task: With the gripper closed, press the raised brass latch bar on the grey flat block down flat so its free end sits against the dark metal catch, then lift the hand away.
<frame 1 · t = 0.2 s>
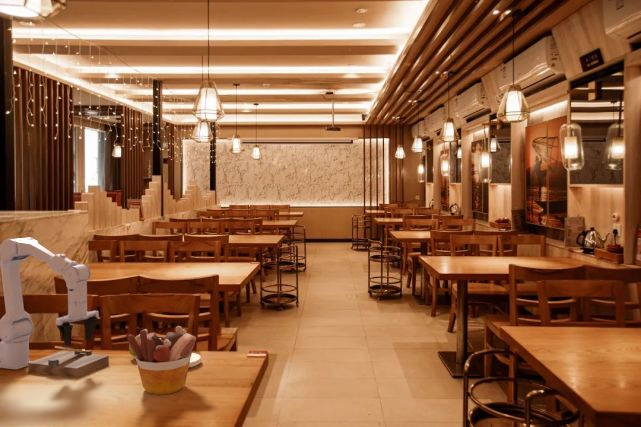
hand: (78, 342, 184), 10 cm above the table, tool pointing down, fingers open, 7 cm apart
lemon: (137, 358, 200), on the table
plastic lid: (180, 366, 192), on the table
latch bar: (71, 349, 190), point 6 cm above the table, hinge at 22.0°
bucket of meat: (163, 390, 167), on the table
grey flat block: (69, 367, 189), on the table
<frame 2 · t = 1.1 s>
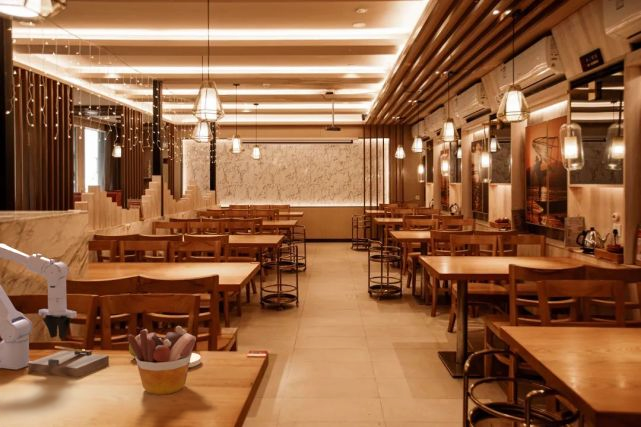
hand: (58, 337, 191), 10 cm above the table, tool pointing down, fingers open, 3 cm apart
nothing on the table moved.
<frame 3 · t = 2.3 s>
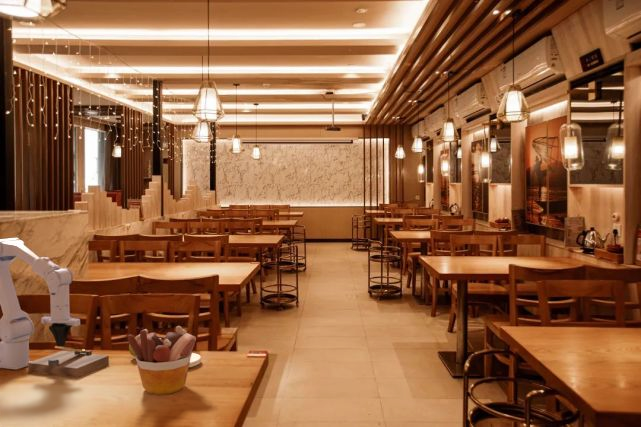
hand: (61, 346, 185), 8 cm above the table, tool pointing down, fingers closed, pressing on latch bar
latch bar: (71, 349, 190), point 6 cm above the table, hinge at 22.0°, touching gripper
everything else where it was.
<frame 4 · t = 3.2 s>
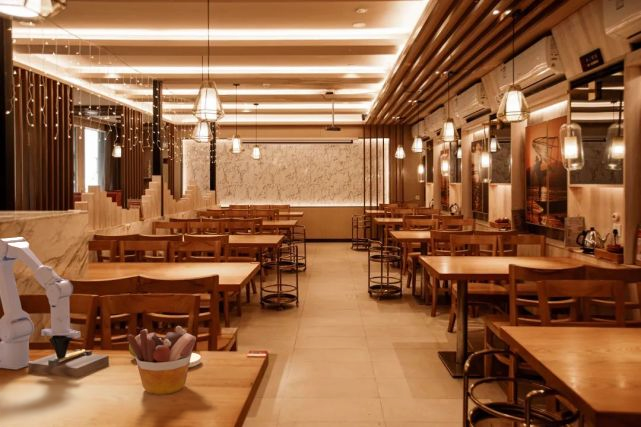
hand: (61, 358, 185), 4 cm above the table, tool pointing down, fingers closed, pressing on latch bar
latch bar: (70, 355, 189), point 4 cm above the table, hinge at 2.9°, touching gripper
everything else where it was.
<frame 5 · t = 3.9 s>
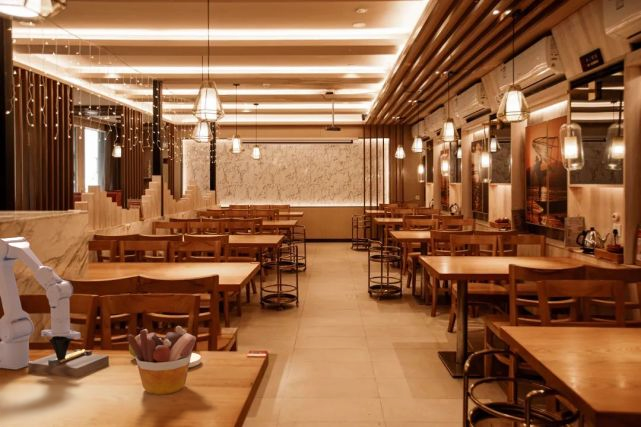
hand: (61, 359, 185), 4 cm above the table, tool pointing down, fingers closed, pressing on latch bar
latch bar: (70, 356, 189), point 4 cm above the table, hinge at 0.3°, touching gripper
everything else where it was.
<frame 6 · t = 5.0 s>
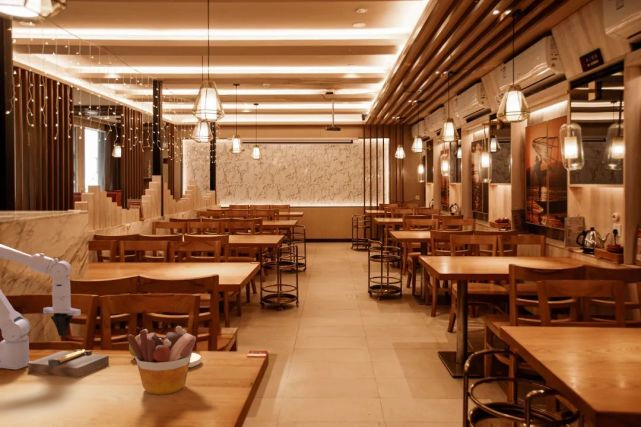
hand: (62, 335, 194), 10 cm above the table, tool pointing down, fingers closed
latch bar: (70, 356, 189), point 4 cm above the table, hinge at 0.3°
everything else where it was.
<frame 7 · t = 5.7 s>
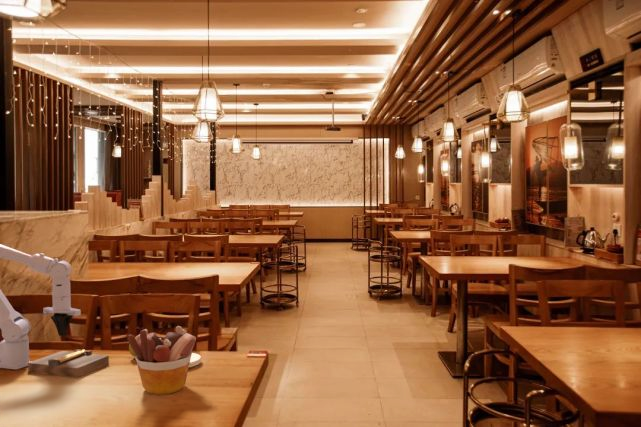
hand: (62, 335, 194), 10 cm above the table, tool pointing down, fingers closed
nothing on the table moved.
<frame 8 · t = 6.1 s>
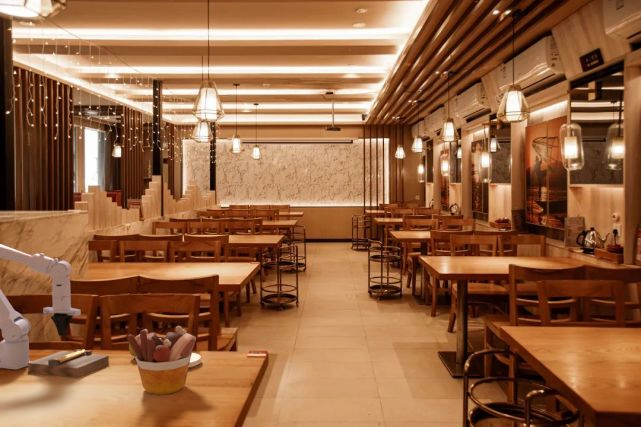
hand: (62, 335, 194), 10 cm above the table, tool pointing down, fingers closed
nothing on the table moved.
at the end: latch bar at +0° (first picture: +22°) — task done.
